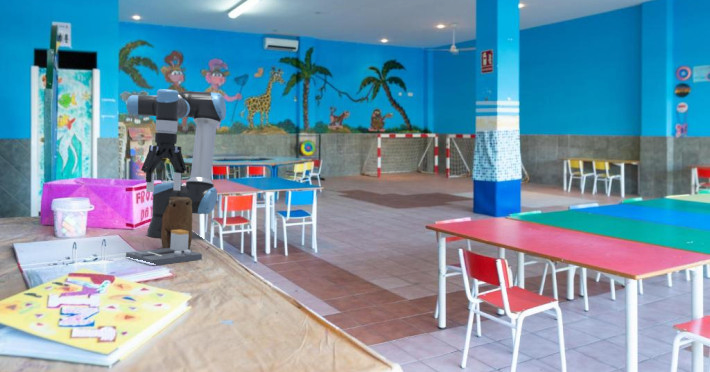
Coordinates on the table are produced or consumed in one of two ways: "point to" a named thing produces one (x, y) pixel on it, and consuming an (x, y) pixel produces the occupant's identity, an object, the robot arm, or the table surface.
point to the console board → (164, 256)
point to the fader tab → (179, 240)
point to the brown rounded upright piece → (176, 219)
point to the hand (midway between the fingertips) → (163, 191)
